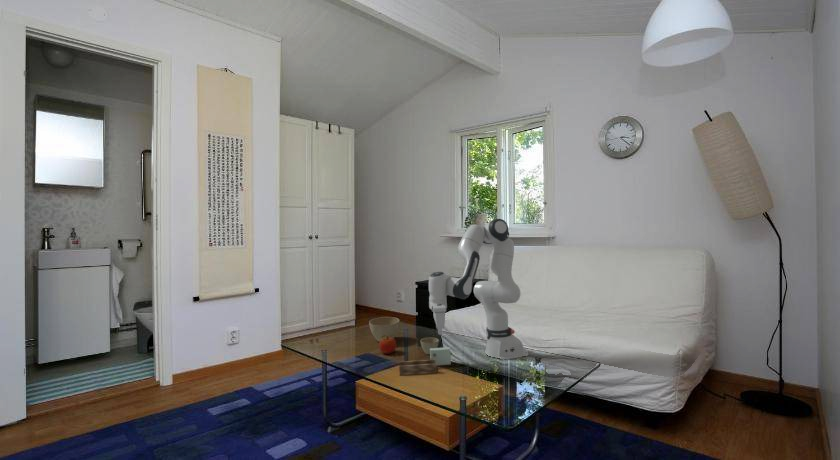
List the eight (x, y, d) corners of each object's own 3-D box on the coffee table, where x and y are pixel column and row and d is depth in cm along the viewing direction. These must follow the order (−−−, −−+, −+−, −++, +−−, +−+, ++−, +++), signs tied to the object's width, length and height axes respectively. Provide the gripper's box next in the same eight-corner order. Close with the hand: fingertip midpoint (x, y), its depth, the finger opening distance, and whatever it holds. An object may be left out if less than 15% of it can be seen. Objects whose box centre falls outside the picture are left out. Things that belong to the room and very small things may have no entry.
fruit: (399, 353, 243) (398, 335, 242) (382, 356, 240) (381, 338, 239) (393, 348, 252) (392, 331, 251) (377, 351, 249) (376, 333, 248)
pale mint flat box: (449, 362, 227) (449, 347, 227) (450, 364, 224) (450, 349, 224) (430, 363, 227) (429, 348, 226) (431, 365, 224) (430, 350, 223)
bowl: (437, 356, 236) (437, 343, 236) (419, 356, 238) (418, 343, 238) (440, 350, 246) (439, 337, 246) (422, 349, 248) (422, 337, 248)
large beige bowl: (366, 339, 271) (365, 319, 270) (393, 334, 279) (392, 315, 278) (376, 347, 255) (374, 327, 254) (404, 342, 262) (403, 322, 261)
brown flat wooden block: (435, 366, 222) (434, 358, 222) (436, 372, 214) (436, 364, 214) (399, 368, 221) (399, 360, 221) (399, 375, 213) (399, 367, 213)
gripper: (430, 300, 234) (431, 326, 234) (433, 309, 213) (434, 337, 214) (442, 299, 234) (443, 325, 235) (446, 309, 213) (447, 337, 214)
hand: (439, 331), depth 224 cm, fingers open, 8 cm apart
